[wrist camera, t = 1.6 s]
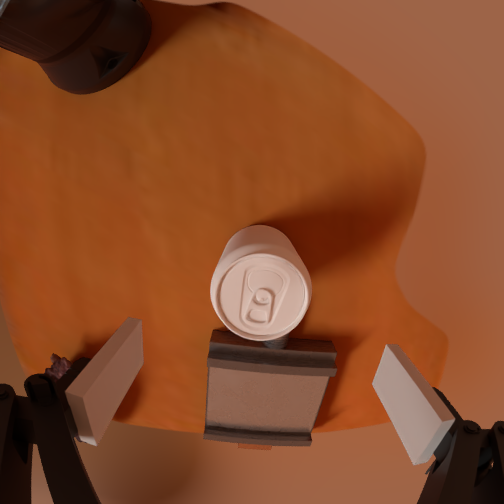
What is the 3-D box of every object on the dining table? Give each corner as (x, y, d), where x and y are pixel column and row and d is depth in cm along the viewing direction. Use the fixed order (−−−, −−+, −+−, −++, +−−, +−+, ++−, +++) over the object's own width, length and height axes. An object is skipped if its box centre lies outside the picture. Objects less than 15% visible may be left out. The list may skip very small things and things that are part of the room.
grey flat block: (215, 300, 35) (210, 316, 31) (338, 312, 35) (348, 329, 31) (206, 433, 40) (203, 453, 36) (300, 440, 41) (304, 460, 36)
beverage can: (303, 233, 33) (328, 260, 22) (284, 299, 35) (298, 353, 23) (231, 216, 33) (219, 235, 21) (217, 285, 35) (199, 333, 23)
